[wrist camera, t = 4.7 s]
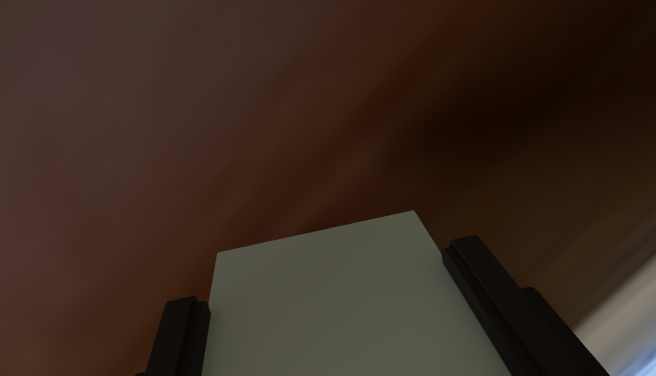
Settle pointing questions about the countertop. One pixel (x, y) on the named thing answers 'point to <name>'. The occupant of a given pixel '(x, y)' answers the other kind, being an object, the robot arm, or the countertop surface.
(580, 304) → the countertop surface
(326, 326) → the tile
